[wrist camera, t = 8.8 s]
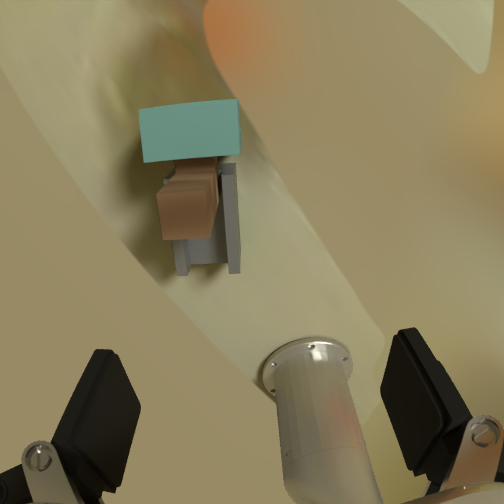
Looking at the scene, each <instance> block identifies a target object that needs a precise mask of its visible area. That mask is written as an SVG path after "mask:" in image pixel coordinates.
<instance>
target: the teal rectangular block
mask: <svg viewBox="0 0 504 504" xmlns="http://www.w3.org/2000/svg"><path fill="white" fill-rule="evenodd" d="M139 121H140V131H141V141H142V151H143V160H144V163H147V162H156V161H166V160H176V159H187V158H199V157H212V156H228V155H240V148H241V131H240V110H239V100H238V99H229V100H215V101H203V102H192V103H183V104H174V105H166V106H159V107H152V108H145V109H139Z"/></svg>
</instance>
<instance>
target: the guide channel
mask: <svg viewBox="0 0 504 504" xmlns="http://www.w3.org/2000/svg"><path fill="white" fill-rule="evenodd" d="M175 173H176V169H174V170H173V171H172V172H171V173H170V174H169V175H167V176H166V177H165V178H164V179H163V182H164V185H165V184H166V183H167V182H168V181H169V180H170V179H171V178H172V177H173V175H174V174H175ZM218 175H219V189H220V199H219V203H218V207H217V211H216V215H215V219H214V223H213V227H212V231H211V236H210V238H198V239H179V240H172V247H173V253H174V259H175V265H176V271H177V276H186V275H188V273H189V270H190V266H191V265H192V264H215V263H228V267H229V274H236V273H240V256H241V246H240V229H239V212H238V195H237V177H236V163H226V164H218Z"/></svg>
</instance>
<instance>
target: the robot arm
mask: <svg viewBox="0 0 504 504" xmlns="http://www.w3.org/2000/svg"><path fill="white" fill-rule="evenodd" d="M352 369H353V362H352V358H351V355H350V353H349V351H348V350H347V349H346V347H344V346H343V345H342V344H341V343H338V342H336V341H334V340H331V339H327V338H306V339H301V340H297V341H294V342H291V343H289V344H287V345H284V346H282V347H281V348H279V349H278V350H276V351H275V352H274V353H273V354H272V355H271V356H270V357H269V358H268V359H267V361H266V362H265V364H264V367H263V371H262V378H263V384H264V387H265V388H266V389H267V391H268V392H269V393H270V394H272V395H273V396H275V397H276V405H277V415H278V425H279V437H280V447H281V458H282V467H283V468H282V469H283V480H284V486H285V488H286V491H287V493H288V495H289V496H290V497H291V498H292V500H293V501H294V502H296V503H297V504H384V502H383V499H382V497H381V494H380V491H379V488H378V485H377V482H376V479H375V475H374V472H373V469H372V465H371V461H370V458H369V454H368V451H367V447H366V443H365V440H364V436H363V433H362V430H361V426H360V423H359V419H358V416H357V413H356V409H355V406H354V403H353V400H352V396H351V393H350V390H349V387H348V383H347V380H348V379H349V377H350V375H351V373H352ZM380 393H381V397H382V400H383V402H384V405H385V408H386V410H387V413H388V415H389V418H390V421H391V423H392V426H393V429H394V432H395V434H396V437H397V440H398V443H399V446H400V448H401V451H402V454H403V457H404V460H405V463H406V466H407V468H408V470H410V471H411V470H413V473H414V476H415V477H416V476H419V475H422V474H425V473H426V475H427V478H428V480H429V481H428V484H427V486H426V488H425V491H424V492H423V494H422V496H421V498H418V499H415V500H412V501H408V502H405V503H401V504H504V430H503V426H502V425H501V423H500V422H499V421H498V420H497V419H496V418H494V417H492V416H490V415H478V416H476V417H474V418H473V417H472V415H471V413H470V412H469V410H468V408H467V406H466V404H465V402H464V401H463V399H462V397H461V395H460V394H459V392H458V390H457V389H456V387H455V385H454V383H453V382H452V380H451V378H450V377H449V375H448V374H447V372H446V370H445V368H444V367H443V366H442V364H441V363H440V361H438V360H436V358H435V356H434V355H433V353H432V352H431V350H430V348H429V347H428V345H427V344H426V342H425V341H424V339H423V337H422V336H421V334H420V333H419V331H418V330H417V329H416V328H414V327H413V328H408V329H402V330H399V331H398V334H397V335H394V337H393V340H392V345H391V349H390V353H389V357H388V361H387V366H386V369H385V373H384V377H383V380H382V384H381V387H380ZM140 410H141V405H140V402H139V400H138V398H137V396H136V394H135V391H134V389H133V387H132V385H131V383H130V381H129V379H128V376H127V374H126V372H125V370H124V367H123V365H122V363H121V361H120V358H119V356H118V355H117V354H115V353H114V352H113V351H112V350H109V349H96V350H95V351H94V353H93V355H92V357H91V359H90V361H89V363H88V364H87V366H86V368H85V370H84V372H83V374H82V376H81V378H80V380H79V382H78V384H77V386H76V388H75V391H74V392H73V394H72V397H71V399H70V401H69V403H68V405H67V407H66V409H65V411H64V414H63V416H62V418H61V420H60V422H59V425H58V427H57V429H56V431H55V433H54V436H53V438H52V441H51V443H49V442H46V441H36V442H33V443H31V444H30V445H28V446H27V447H26V449H25V450H24V452H23V454H22V459H21V460H22V464H20V465H18V466H16V467H14V468H12V469H10V470H7V471H5V472H3V473H1V474H0V504H104V502H103V500H102V498H101V496H102V492H103V491H106V492H111V493H115V492H116V488H117V487H119V486H120V485H121V483H122V479H123V475H124V471H125V467H126V463H127V459H128V455H129V452H130V448H131V444H132V440H133V437H134V433H135V429H136V426H137V422H138V419H139V415H140Z"/></svg>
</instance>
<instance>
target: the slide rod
mask: <svg viewBox="0 0 504 504" xmlns="http://www.w3.org/2000/svg"><path fill="white" fill-rule="evenodd" d="M175 169H176V173H175V174H174V175H173V177H172V178H171V179H170V180H169V181H168V182H167V183H166V184H165V185H164V186H163V187H162V188H161V190H160V191H159V192H158V193H157V194H156V197H157V205H158V212H159V218H160V225H161V231H162V238H163V240H179V239H198V238H210V236H211V231H212V227H213V223H214V219H215V215H216V211H217V207H218V203H219V199H220V189H219V175H218V160H217V156H212V157H199V158H187V159H176V160H175Z"/></svg>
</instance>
